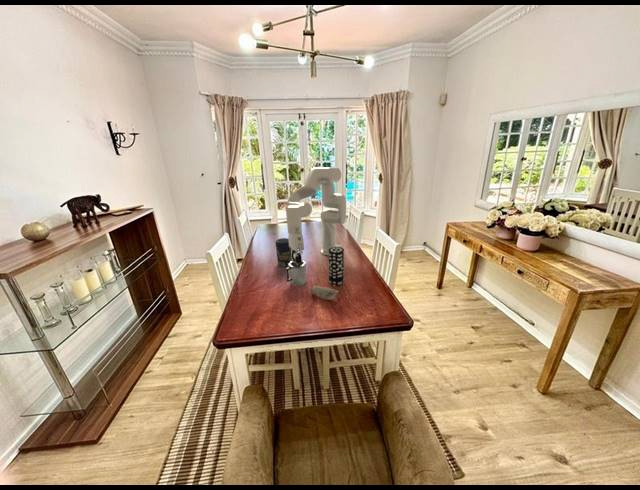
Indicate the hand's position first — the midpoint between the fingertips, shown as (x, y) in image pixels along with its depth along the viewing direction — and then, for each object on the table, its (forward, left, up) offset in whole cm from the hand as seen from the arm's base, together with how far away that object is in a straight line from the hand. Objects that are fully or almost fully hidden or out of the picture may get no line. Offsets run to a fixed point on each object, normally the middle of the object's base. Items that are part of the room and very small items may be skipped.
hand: (296, 260), depth 138 cm
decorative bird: (-4, +22, -14) cm, 27 cm away
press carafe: (+1, 0, -14) cm, 14 cm away
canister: (-3, -26, -14) cm, 30 cm away
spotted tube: (-18, +12, -14) cm, 26 cm away
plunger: (0, 0, -12) cm, 12 cm away
